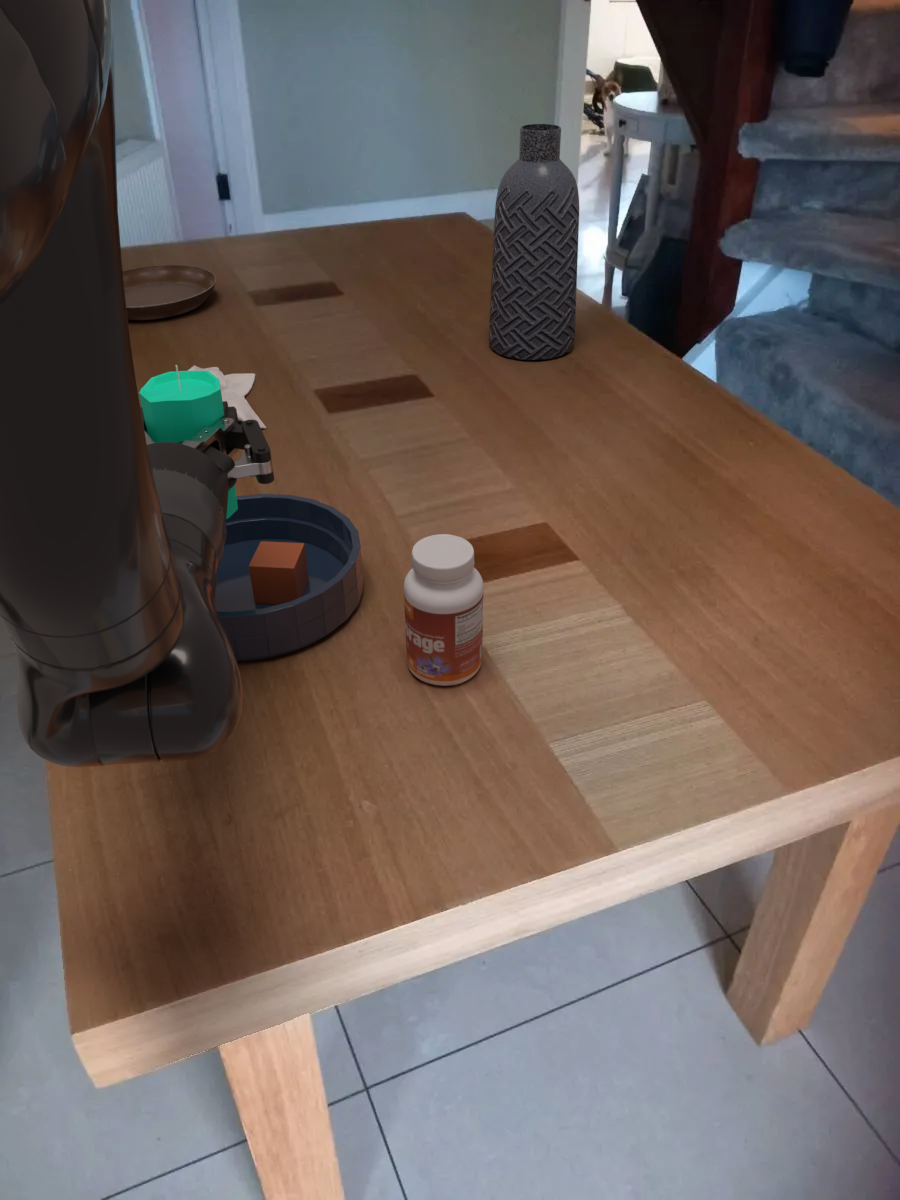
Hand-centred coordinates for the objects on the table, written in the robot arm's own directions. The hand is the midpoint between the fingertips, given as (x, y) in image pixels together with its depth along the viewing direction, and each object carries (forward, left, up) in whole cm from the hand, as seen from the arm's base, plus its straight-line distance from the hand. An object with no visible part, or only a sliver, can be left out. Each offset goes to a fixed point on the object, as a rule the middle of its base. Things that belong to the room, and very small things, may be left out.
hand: (185, 415), depth 72 cm
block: (+6, 0, -17) cm, 18 cm away
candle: (+1, -2, -7) cm, 8 cm away
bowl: (+3, +1, -18) cm, 18 cm away
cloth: (-14, +39, -18) cm, 46 cm away
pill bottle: (+21, -8, -18) cm, 29 cm away
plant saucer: (-35, +77, -18) cm, 87 cm away
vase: (+26, +63, -18) cm, 71 cm away
